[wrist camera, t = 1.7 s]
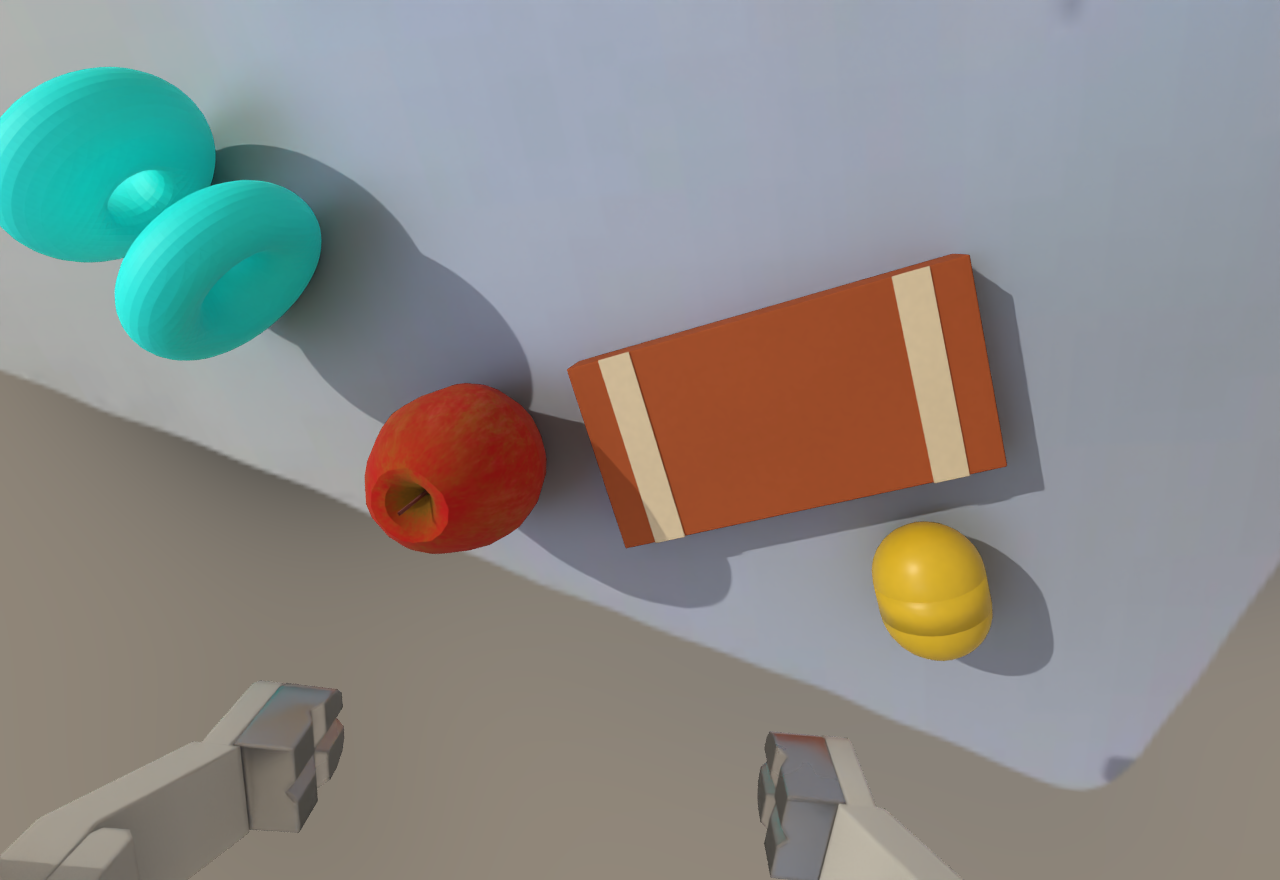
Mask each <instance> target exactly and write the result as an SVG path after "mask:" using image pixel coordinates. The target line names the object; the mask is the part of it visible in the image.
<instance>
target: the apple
mask: <svg viewBox="0 0 1280 880" xmlns="http://www.w3.org/2000/svg"><path fill="white" fill-rule="evenodd" d="M546 460H547V459H546V454H545V449H544V445H543V442H542V438H541V435H540V433H539V431H538V428H537V426H536V424H535V422H534V421H533V419H532V417H531V415H530V414H529V413H528V412H527V411H526V410H525V409H524V408H523V407H522V406H521V405H520V404H519V403H517V402H516V401H514V400H513V399H511V398H510V397H508V396H507V395H505V394H504V393H502V392H501V391H500V390H497V389H495V388H492V387H489V386H486V385H481V384H470V383H463V384H456V385H452V386H450V387H447V388H444V389H441V390H438V391H435V392H432V393H429V394H427V395H424V396H421V397H419V398H417V399H415V400H414V401H412V402H410V403H408V404H406V405H405V406H403V407H401V408H400V409H399V410H397V411H396V412H394V413H393V414H392V415H391V416H390V417H389V419H388V420H387V422H386V423H385V424H384V426H383V427H382V429H381V431H380V433H379V435H378V437H377V439H376V441H375V444H374V446H373V448H372V451H371V453H370V456H369V458H368V461H367V466H366V472H365V492H366V505H367V507H368V509H369V512H370V514H371V516H372V518H373V519H374V520H375V522H376V523H377V524H378V525H379V526H380V527H381V528H382V529H383V531H385V533H386V534H387V535H388V536H389V537H390V538H392V539H393V540H395V541H397V542H398V543H400V544H401V545H403V546H405V547H407V548H409V549H411V550H415V551H420V552H425V553H431V554H442V553H452V552H459V551H467V550H472V549H476V548H479V547H483V546H487V545H490V544H492V543H494V542H495V541H497V540H499V539H501V538H503V537H505V536H506V535H508V534H510V533H511V532H513V531H514V530H515V529H517V528H518V527H520V525H521V524H522V523H523V521H524V520H525V519H526V518H527V516H528V515H529V514H530V512H531V511H532V509H533V508H534V506H535V505H536V503H537V502H538V499H539V495H540V492H541V488H542V485H543V482H544V478H545V475H546Z"/></svg>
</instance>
